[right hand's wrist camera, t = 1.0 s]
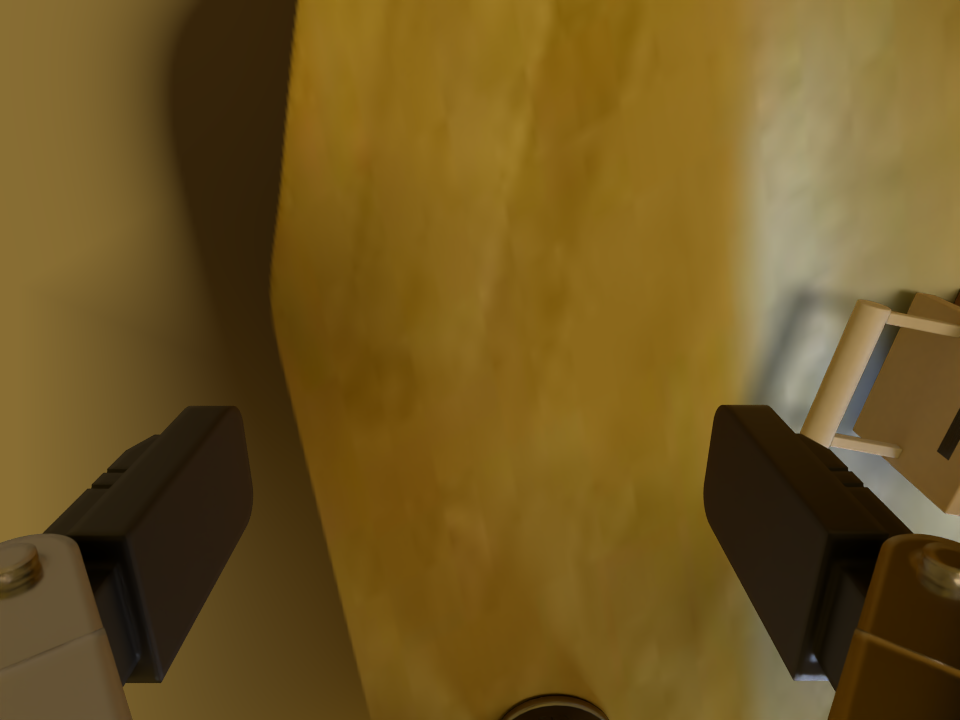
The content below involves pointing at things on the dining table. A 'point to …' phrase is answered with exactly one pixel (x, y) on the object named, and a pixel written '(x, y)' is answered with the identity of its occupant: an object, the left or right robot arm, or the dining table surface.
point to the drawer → (900, 395)
